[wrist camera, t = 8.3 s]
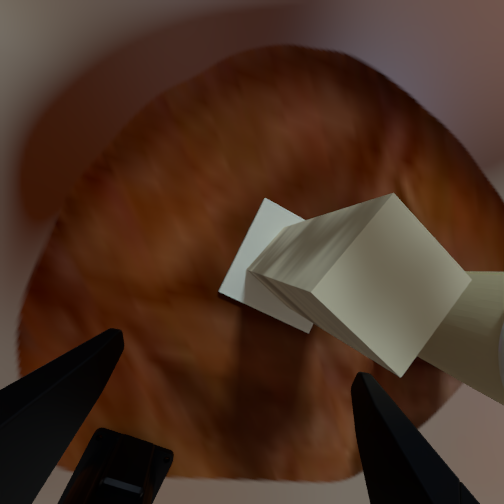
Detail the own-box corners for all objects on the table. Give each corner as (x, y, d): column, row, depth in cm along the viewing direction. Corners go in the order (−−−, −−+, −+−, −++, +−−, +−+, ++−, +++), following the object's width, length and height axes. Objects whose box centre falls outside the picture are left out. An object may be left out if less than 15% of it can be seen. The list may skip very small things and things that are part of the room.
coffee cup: (436, 365, 26) (630, 458, 14) (359, 342, 24) (506, 426, 13) (460, 279, 27) (664, 299, 15) (386, 250, 25) (550, 249, 13)
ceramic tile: (306, 331, 23) (308, 333, 23) (218, 290, 22) (218, 291, 21) (345, 244, 24) (348, 244, 24) (263, 199, 23) (265, 197, 22)
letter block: (288, 308, 22) (404, 381, 10) (246, 269, 22) (310, 292, 9) (324, 266, 23) (474, 282, 10) (284, 227, 22) (393, 193, 10)
